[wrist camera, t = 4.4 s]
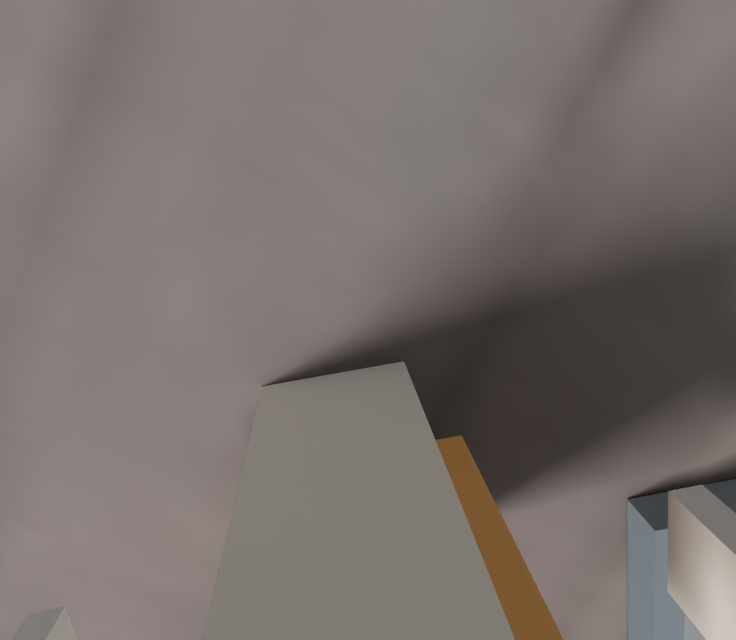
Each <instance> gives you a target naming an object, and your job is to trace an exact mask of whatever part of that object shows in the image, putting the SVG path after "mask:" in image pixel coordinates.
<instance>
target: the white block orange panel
mask: <svg viewBox="0 0 736 640" xmlns="http://www.w3.org/2000/svg"><path fill="white" fill-rule="evenodd" d="M202 640H563V638H562V636H561V634H560V632H559V630H558V628H557V626H556V624H555V622H554V620H553V618H552V616H551V614H550V612H549V610H548V608H547V606H546V604H545V602H544V600H543V598H542V596H541V594H540V592H539V590H538V588H537V586H536V584H535V582H534V580H533V578H532V576H531V574H530V572H529V570H528V568H527V566H526V564H525V562H524V559H523V557H522V555H521V553H520V551H519V549H518V547H517V545H516V543H515V541H514V539H513V537H512V535H511V533H510V531H509V529H508V527H507V525H506V523H505V521H504V519H503V517H502V515H501V513H500V511H499V509H498V507H497V505H496V503H495V501H494V499H493V497H492V495H491V493H490V491H489V489H488V487H487V485H486V483H485V481H484V479H483V477H482V475H481V473H480V471H479V469H478V467H477V465H476V463H475V461H474V459H473V457H472V455H471V453H470V451H469V449H468V447H467V445H466V443H465V441H464V439H463V437H462V435H460V436H454V437H449V438H443V439H438V440H435V438H434V435H433V433H432V430H431V428H430V425H429V423H428V420H427V418H426V415H425V413H424V410H423V408H422V405H421V403H420V400H419V398H418V395H417V393H416V390H415V388H414V385H413V383H412V380H411V378H410V375H409V373H408V370H407V368H406V365H405V363H404V361H402V362H397V363H391V364H385V365H380V366H374V367H369V368H363V369H357V370H352V371H346V372H341V373H335V374H329V375H324V376H318V377H312V378H307V379H301V380H296V381H290V382H284V383H279V384H273V385H268V386H262V388H261V393H260V397H259V401H258V405H257V410H256V414H255V418H254V422H253V426H252V431H251V435H250V439H249V443H248V448H247V452H246V456H245V460H244V465H243V469H242V473H241V477H240V482H239V486H238V490H237V494H236V499H235V503H234V507H233V511H232V516H231V520H230V524H229V528H228V533H227V537H226V541H225V545H224V550H223V554H222V558H221V562H220V567H219V571H218V575H217V579H216V584H215V588H214V592H213V596H212V601H211V605H210V609H209V613H208V617H207V622H206V626H205V630H204V634H203V639H202Z"/></svg>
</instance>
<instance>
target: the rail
mask: <svg viewBox="0 0 736 640" xmlns="http://www.w3.org/2000/svg"><path fill="white" fill-rule="evenodd" d="M703 486H704V487H705V488H707V489H708V490H709V491H710V492H711V493H712V494H714V495H715V496H716V497H717V498H718V499H719V500H721V501H722V502H723V503H724V504H725V505H727V506H728V507H729V508H730V509H731V510H732V511H734V512H735V513H736V479H732V480H727V481H721V482H716V483H711V484H706V485H703ZM627 531H628V640H706V639H705V638H704V636H703V635H702V634H701V633H700V631H699V630H698V629H697V628H696V627H695V625H694V624H693V623H692V622H691V620H690V619H689V618H688V617H687V615H686V614H685V613H684V612H683V610H682V609H681V608H680V607H679V605H678V604H677V603H676V602H675V600H674V599H673V598H672V597H671V595H670V594H669V593H668V592H667V581H668V492H664V493H658V494H653V495H648V496H643V497H637V498H632V499H627Z"/></svg>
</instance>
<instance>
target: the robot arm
mask: <svg viewBox="0 0 736 640" xmlns="http://www.w3.org/2000/svg"><path fill="white" fill-rule="evenodd" d="M667 592H668V593H669V594H670V595H671V597H672V598H673V599H674V600H675V602H676V603H677V604H678V605H679V607H680V608H681V609H682V610H683V612H684V613H685V614H686V615H687V617H688V618H689V619H690V620H691V622H692V623H693V624H694V625H695V627H696V628H697V629H698V630H699V631H700V633H701V634H702V635H703V636H704V638H705V639H706V640H736V513H735V512H734V511H732V510H731V509H730V508H729V507H728V506H727V505H725V504H724V503H723V502H722V501H721V500H719V499H718V498H717V497H716V496H715V495H714V494H712V493H711V492H710V491H709V490H708V489H707V488H705V487H704V486H703V485H697V486H692V487H687V488H682V489H676V490H671V491H668V581H667ZM11 640H78V639H77V637H76V634H75V632H74V629H73V627H72V624H71V622H70V619H69V617H68V614H67V612H66V609H65V607H61V608H56V609H51V610H45V611H40V612H35V613H30V614H27V616H26V617H25V619H24V620H23V622H22V624H21V625H20V627H19V628H18V630H17V631H16V633H15V634H14V636H13V638H12V639H11Z"/></svg>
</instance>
